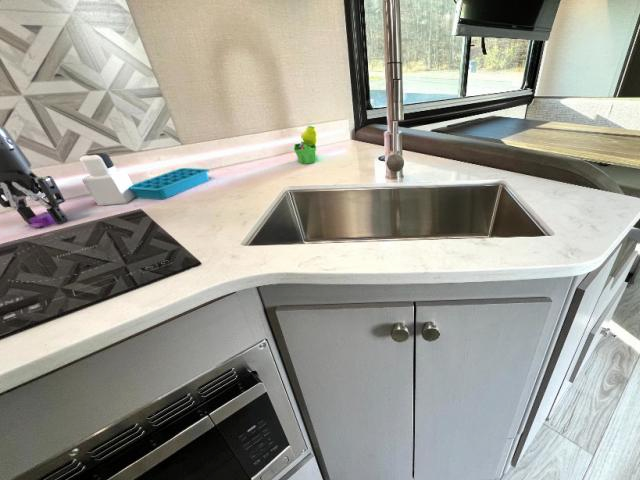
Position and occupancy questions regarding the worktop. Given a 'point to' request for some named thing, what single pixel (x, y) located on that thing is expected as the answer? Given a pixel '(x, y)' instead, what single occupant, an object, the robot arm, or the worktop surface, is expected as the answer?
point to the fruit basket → (307, 146)
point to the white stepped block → (106, 180)
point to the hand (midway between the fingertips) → (48, 222)
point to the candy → (42, 220)
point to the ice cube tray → (170, 183)
